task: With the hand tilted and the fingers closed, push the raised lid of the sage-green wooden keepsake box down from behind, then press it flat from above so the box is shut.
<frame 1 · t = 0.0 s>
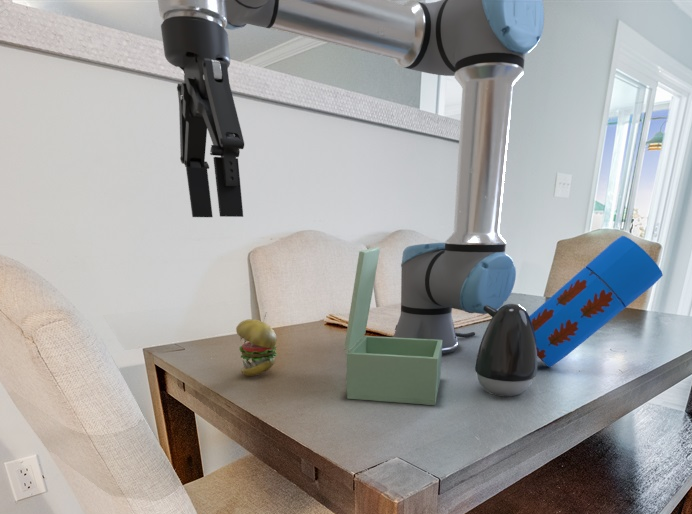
hand: (215, 217, 63), 28 cm above the table, tool pointing down, fingers open, 13 cm apart
lid: (362, 297, 76), point 16 cm above the table, hinge at 80.0°
thermos: (532, 349, 94), point 3 cm above the table
pump dispenser: (502, 392, 81), on the table
hamburger: (260, 375, 89), on the table
keepsake box: (396, 389, 81), on the table
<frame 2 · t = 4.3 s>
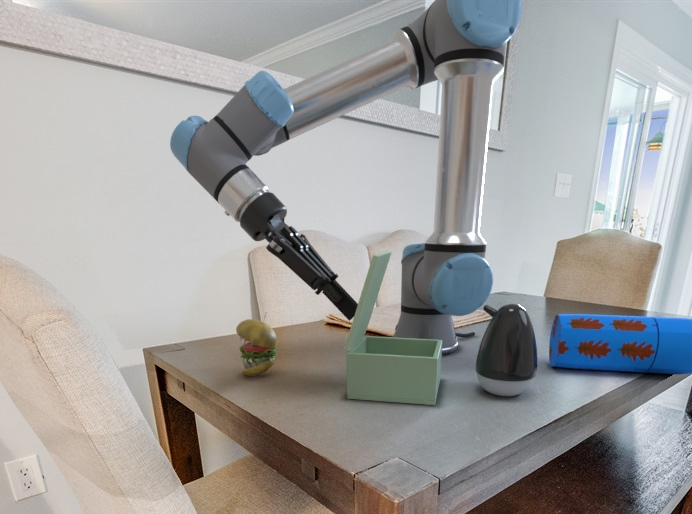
hand: (355, 314, 78), 13 cm above the table, tool tilted 45°, fingers closed
lid: (368, 298, 76), point 16 cm above the table, hinge at 72.0°, touching gripper
thermos: (553, 340, 93), point 5 cm above the table
everything else where it was.
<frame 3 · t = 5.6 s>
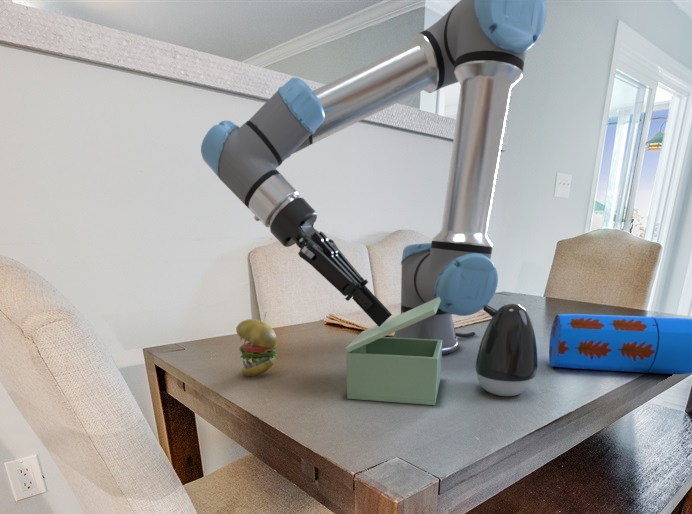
hand: (385, 320, 77), 12 cm above the table, tool tilted 45°, fingers closed
lid: (395, 323, 77), point 12 cm above the table, hinge at 26.2°, touching gripper
everything else where it was.
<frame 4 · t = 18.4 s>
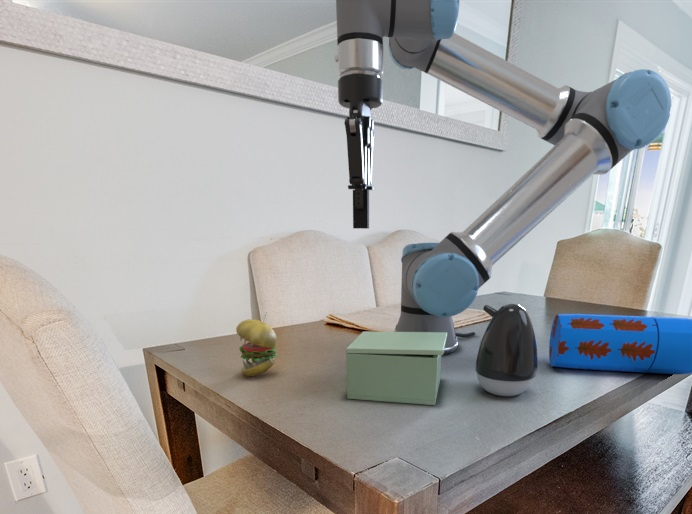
hand: (361, 228, 86), 26 cm above the table, tool pointing down, fingers closed
lid: (399, 342, 78), point 9 cm above the table, hinge at 2.0°
everything else where it was.
at the end: lid reached +2° during the clip, +2° at the end; lid at +2° (first picture: +80°); hamburger moved 0.2 cm from its start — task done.
